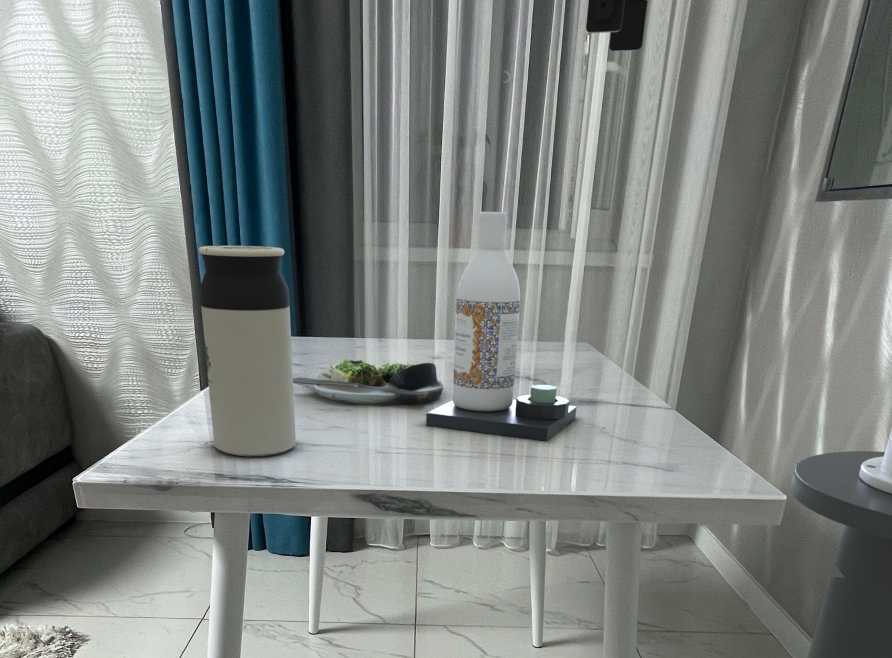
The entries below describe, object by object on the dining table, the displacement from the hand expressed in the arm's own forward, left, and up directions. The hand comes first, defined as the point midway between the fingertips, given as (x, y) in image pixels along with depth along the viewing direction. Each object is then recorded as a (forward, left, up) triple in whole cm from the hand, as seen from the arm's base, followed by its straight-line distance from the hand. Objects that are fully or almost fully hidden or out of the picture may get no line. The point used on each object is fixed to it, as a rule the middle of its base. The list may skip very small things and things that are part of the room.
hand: (614, 41), depth 78 cm
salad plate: (+26, -2, -36) cm, 45 cm away
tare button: (+3, +5, -34) cm, 34 cm away
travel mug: (+25, +28, -36) cm, 52 cm away
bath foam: (+10, +5, -35) cm, 37 cm away
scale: (+7, +5, -36) cm, 37 cm away
